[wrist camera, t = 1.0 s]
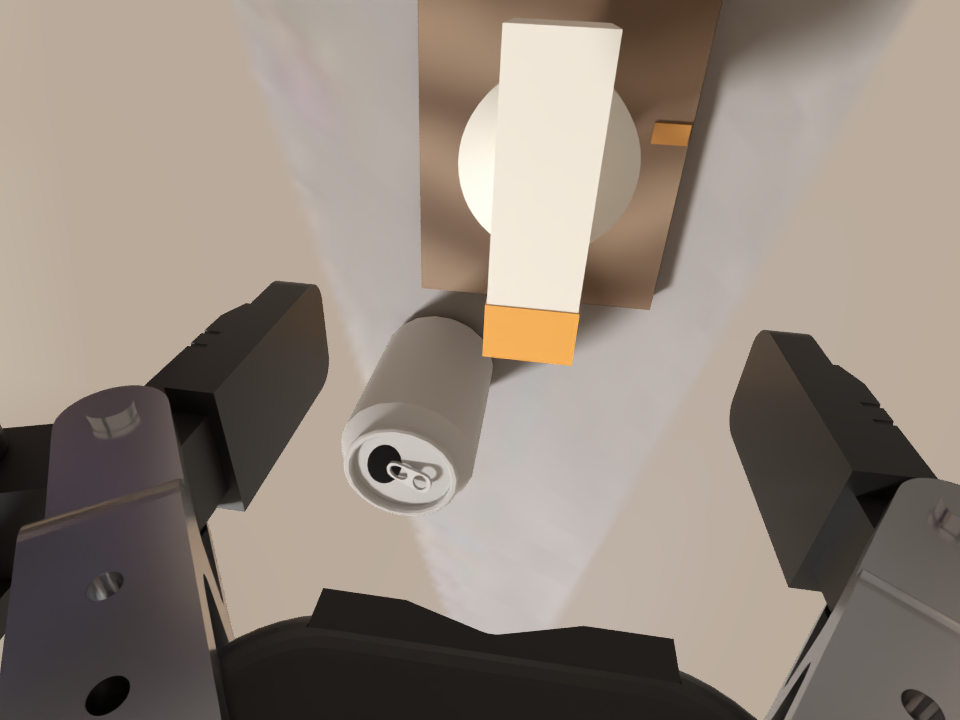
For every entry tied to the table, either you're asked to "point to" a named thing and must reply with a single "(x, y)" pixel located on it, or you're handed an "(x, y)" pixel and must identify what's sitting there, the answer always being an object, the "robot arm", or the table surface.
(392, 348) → the can
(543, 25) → the twist knob
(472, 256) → the lock base
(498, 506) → the table surface
